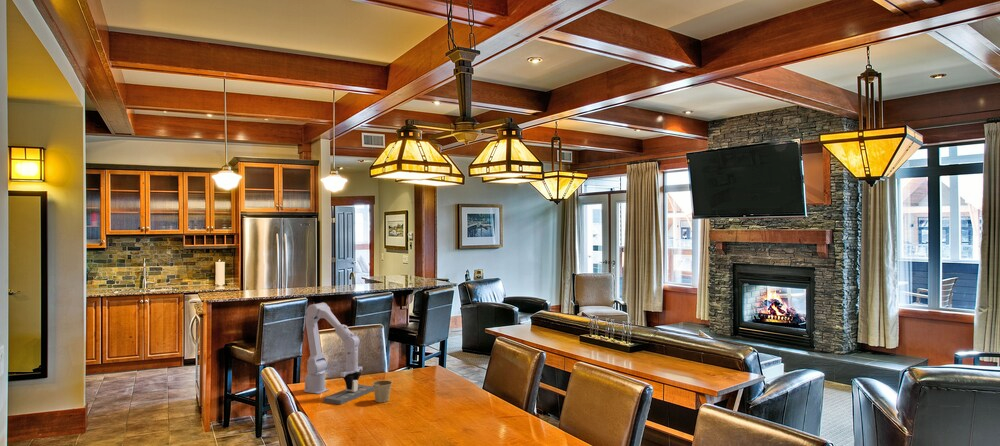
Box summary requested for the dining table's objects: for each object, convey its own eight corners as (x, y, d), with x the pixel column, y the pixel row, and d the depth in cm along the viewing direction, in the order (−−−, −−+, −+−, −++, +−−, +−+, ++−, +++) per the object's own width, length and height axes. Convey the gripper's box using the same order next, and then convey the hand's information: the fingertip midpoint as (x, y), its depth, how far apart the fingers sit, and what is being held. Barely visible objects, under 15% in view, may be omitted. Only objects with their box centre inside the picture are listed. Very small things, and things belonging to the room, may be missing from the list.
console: (323, 402, 270) (323, 397, 270) (358, 388, 294) (358, 384, 294) (340, 404, 266) (340, 400, 266) (374, 390, 290) (374, 386, 290)
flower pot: (394, 398, 276) (394, 380, 277) (389, 404, 267) (389, 385, 267) (375, 397, 277) (375, 379, 277) (369, 403, 268) (369, 385, 268)
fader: (345, 390, 281) (345, 380, 281) (349, 389, 283) (349, 378, 283) (353, 391, 279) (353, 381, 279) (357, 390, 281) (357, 380, 282)
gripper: (349, 364, 273) (348, 393, 273) (367, 358, 286) (367, 385, 286) (337, 363, 276) (336, 391, 276) (356, 357, 289) (355, 384, 289)
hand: (351, 388), depth 281 cm, fingers closed on fader, 3 cm apart
